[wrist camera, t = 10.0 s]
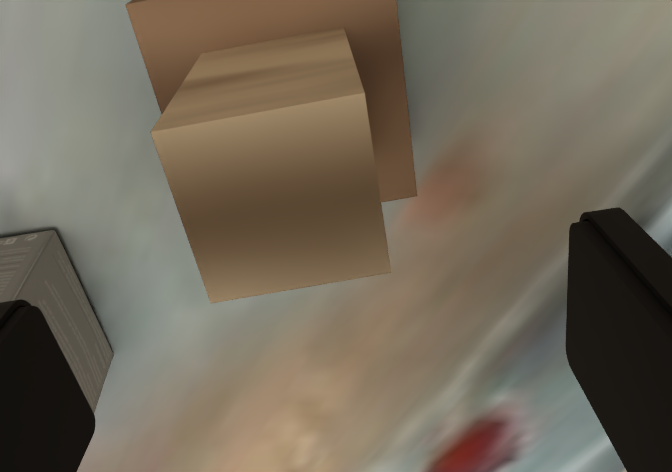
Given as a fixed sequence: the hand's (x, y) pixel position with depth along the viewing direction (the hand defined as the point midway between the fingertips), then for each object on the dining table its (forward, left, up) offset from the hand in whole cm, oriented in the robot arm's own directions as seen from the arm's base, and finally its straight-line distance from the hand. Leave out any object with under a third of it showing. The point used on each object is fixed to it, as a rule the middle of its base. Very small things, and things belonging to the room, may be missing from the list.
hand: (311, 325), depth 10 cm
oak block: (+1, +1, -11) cm, 11 cm away
